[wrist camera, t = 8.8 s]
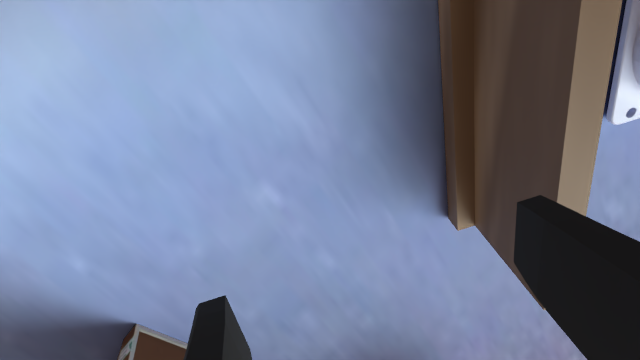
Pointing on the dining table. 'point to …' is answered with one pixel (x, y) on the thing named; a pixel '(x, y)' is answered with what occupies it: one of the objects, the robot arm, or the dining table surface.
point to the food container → (150, 346)
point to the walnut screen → (522, 106)
